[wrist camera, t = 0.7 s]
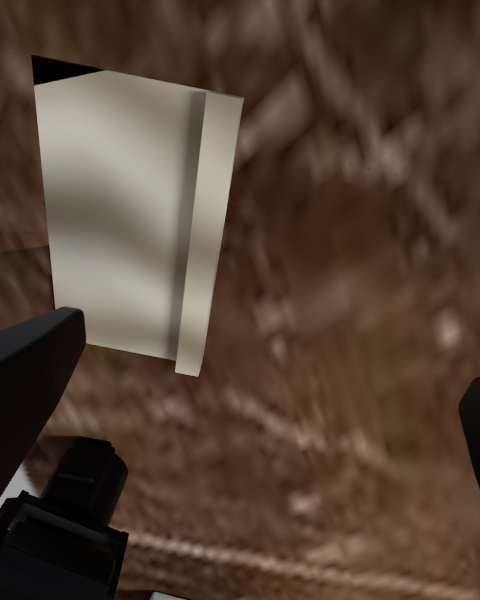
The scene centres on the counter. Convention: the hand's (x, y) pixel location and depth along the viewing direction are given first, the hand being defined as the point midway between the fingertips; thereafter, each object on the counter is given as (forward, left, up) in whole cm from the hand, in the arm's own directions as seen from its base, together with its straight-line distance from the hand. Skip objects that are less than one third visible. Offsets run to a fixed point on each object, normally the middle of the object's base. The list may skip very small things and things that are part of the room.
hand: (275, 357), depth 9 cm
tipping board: (-4, +3, -13) cm, 14 cm away
